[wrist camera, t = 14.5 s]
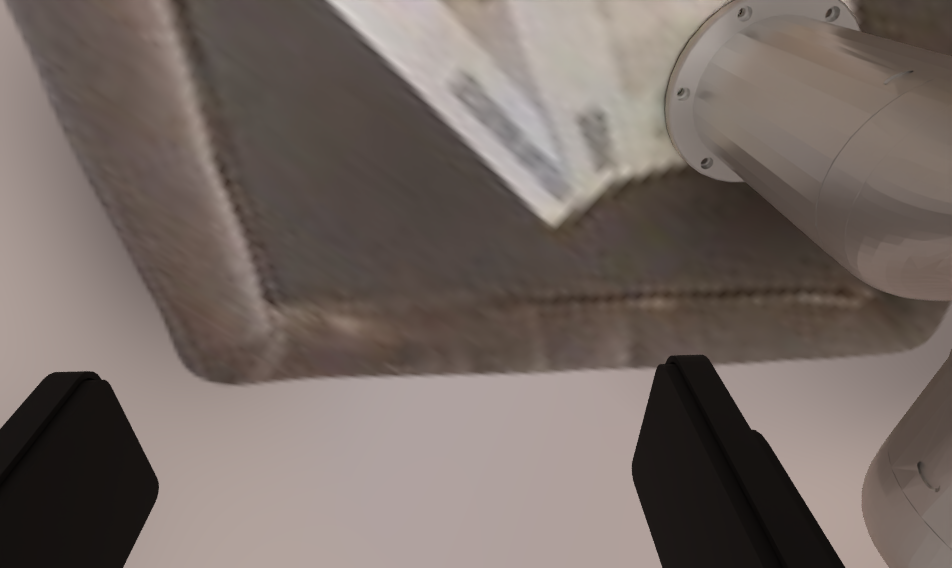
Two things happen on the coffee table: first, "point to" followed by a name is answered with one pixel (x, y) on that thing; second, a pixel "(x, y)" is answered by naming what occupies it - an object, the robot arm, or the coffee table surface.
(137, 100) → the coffee table surface
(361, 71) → the coffee table surface
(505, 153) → the coffee table surface
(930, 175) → the robot arm
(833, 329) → the coffee table surface
